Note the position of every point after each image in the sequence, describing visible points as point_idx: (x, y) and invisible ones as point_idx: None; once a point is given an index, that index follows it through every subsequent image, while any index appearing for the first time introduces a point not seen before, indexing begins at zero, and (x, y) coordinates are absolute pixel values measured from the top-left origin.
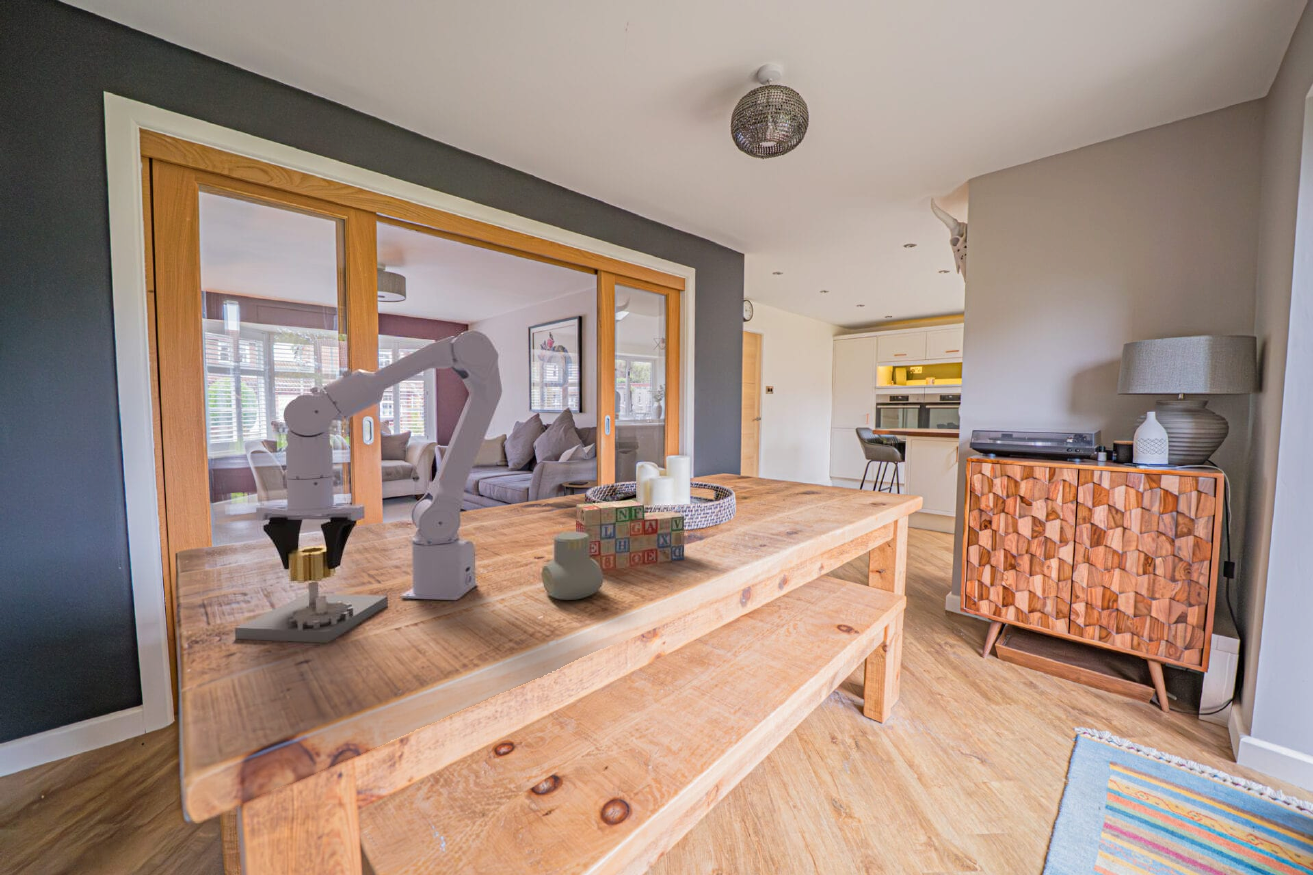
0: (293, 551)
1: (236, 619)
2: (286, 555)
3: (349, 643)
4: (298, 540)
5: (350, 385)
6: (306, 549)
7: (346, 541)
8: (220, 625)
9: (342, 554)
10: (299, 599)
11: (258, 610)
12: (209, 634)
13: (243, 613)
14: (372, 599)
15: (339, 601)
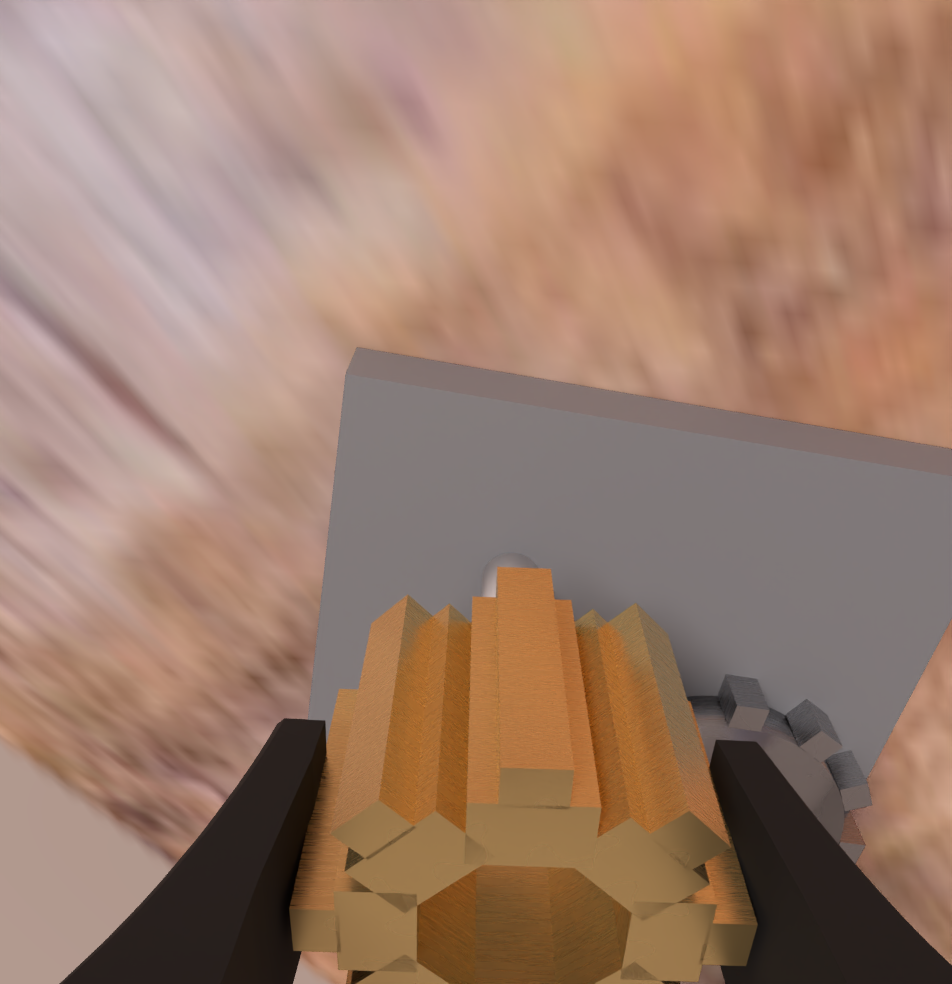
0: (326, 947)
1: (87, 598)
2: (296, 958)
3: (874, 880)
4: (246, 917)
5: None
6: (424, 897)
7: (925, 944)
8: (74, 667)
9: (815, 816)
10: (364, 512)
11: (96, 472)
12: (126, 757)
13: (41, 514)
14: (916, 548)
15: (747, 707)
